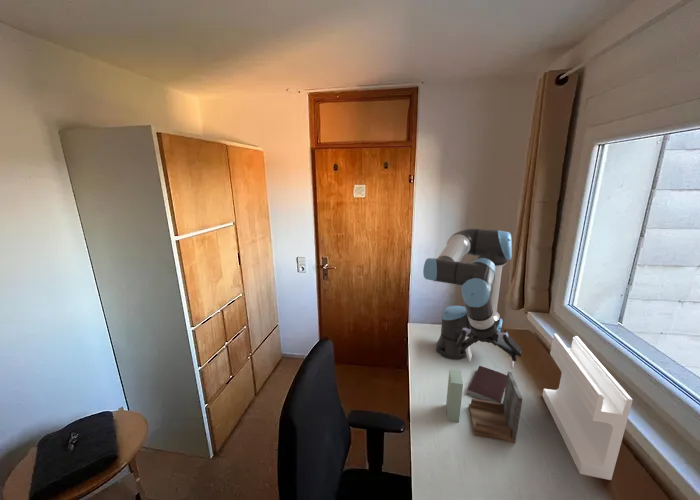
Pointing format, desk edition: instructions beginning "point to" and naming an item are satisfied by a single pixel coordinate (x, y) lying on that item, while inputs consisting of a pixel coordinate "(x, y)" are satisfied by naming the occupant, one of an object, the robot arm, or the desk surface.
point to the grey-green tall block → (454, 395)
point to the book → (488, 385)
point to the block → (588, 408)
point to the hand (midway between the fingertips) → (490, 361)
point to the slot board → (498, 414)
